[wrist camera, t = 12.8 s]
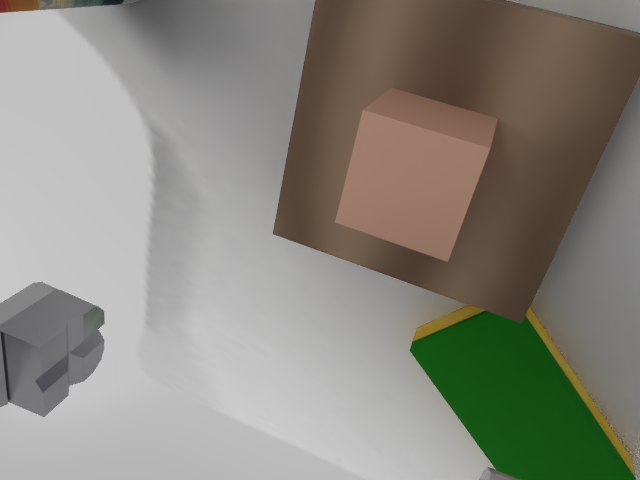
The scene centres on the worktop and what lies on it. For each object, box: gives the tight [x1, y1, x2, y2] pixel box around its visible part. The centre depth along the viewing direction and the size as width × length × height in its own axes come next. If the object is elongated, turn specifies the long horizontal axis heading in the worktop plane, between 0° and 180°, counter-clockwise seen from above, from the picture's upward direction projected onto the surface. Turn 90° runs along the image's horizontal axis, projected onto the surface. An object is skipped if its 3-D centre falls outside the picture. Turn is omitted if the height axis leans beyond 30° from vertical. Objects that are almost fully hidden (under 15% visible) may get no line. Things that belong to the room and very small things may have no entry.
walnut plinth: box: [273, 0, 640, 323], centre depth 28 cm, size 14×14×4 cm
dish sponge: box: [410, 305, 636, 480], centre depth 34 cm, size 7×14×2 cm, turn 38°
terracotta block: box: [335, 88, 498, 262], centre depth 24 cm, size 5×5×5 cm
